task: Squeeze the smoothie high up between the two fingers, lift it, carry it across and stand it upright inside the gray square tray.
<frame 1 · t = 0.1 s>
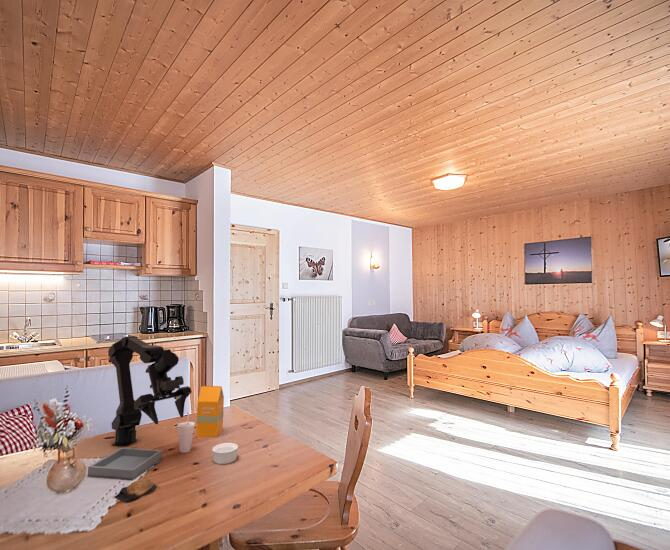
hand: (170, 420, 127), 15 cm above the table, tool tilted 30°, fingers open, 9 cm apart
ramekin: (224, 460, 130), on the table
gray square tray: (126, 467, 123), on the table
smoothie: (185, 451, 138), on the table
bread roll: (137, 494, 108), on the table
orange juice: (209, 434, 155), on the table
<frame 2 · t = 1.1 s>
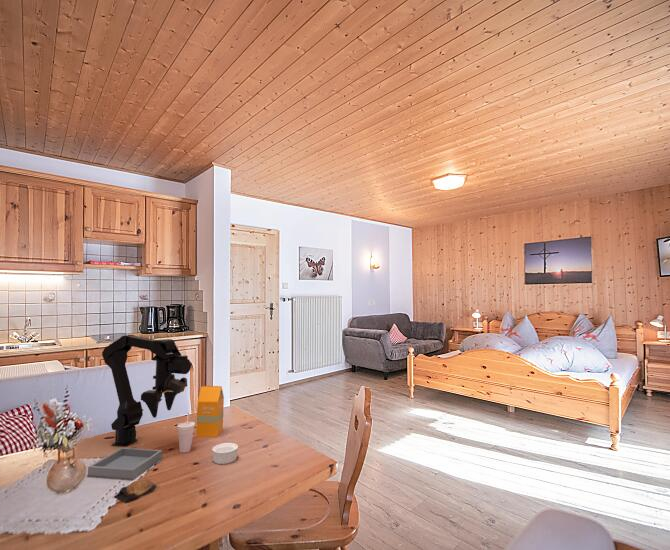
hand: (162, 413, 140), 13 cm above the table, tool pointing down, fingers open, 9 cm apart
nothing on the table moved.
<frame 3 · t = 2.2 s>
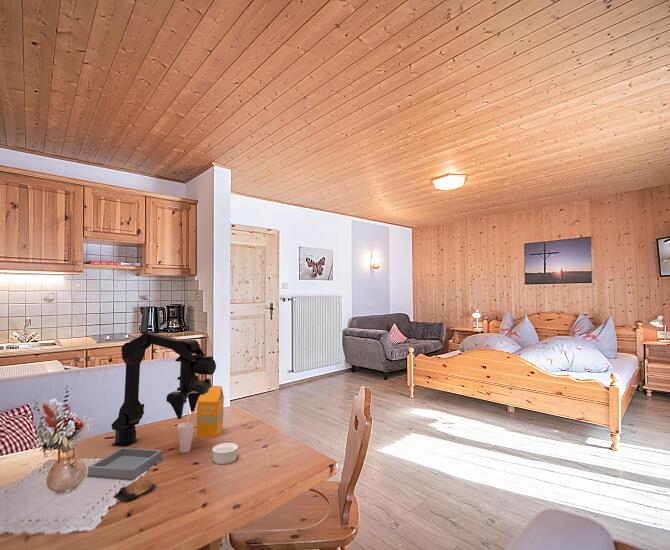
hand: (186, 415, 139), 13 cm above the table, tool pointing down, fingers open, 9 cm apart
nothing on the table moved.
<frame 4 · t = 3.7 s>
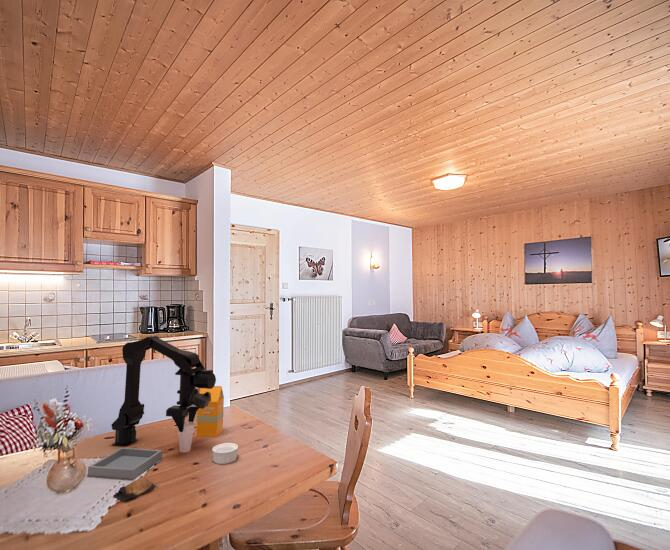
hand: (186, 428, 138), 8 cm above the table, tool pointing down, fingers closed on smoothie, 6 cm apart
smoothie: (185, 451, 138), on the table, touching gripper
everything else where it was.
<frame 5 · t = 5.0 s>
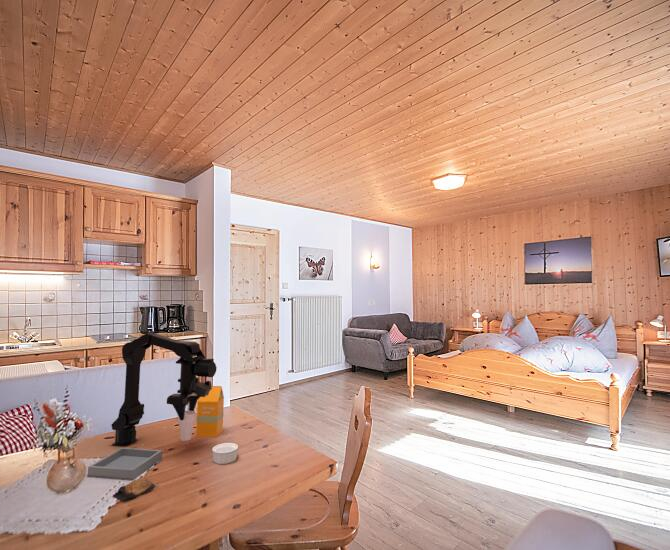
hand: (186, 417, 139), 12 cm above the table, tool pointing down, fingers closed on smoothie, 6 cm apart
smoothie: (185, 439, 138), point 4 cm above the table, touching gripper
everything else where it was.
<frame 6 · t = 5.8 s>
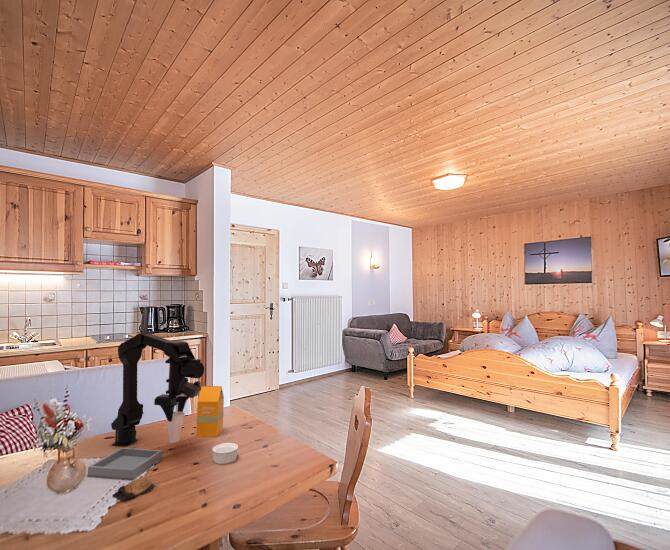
hand: (175, 418, 136), 13 cm above the table, tool pointing down, fingers closed on smoothie, 6 cm apart
smoothie: (173, 441, 135), point 5 cm above the table, touching gripper
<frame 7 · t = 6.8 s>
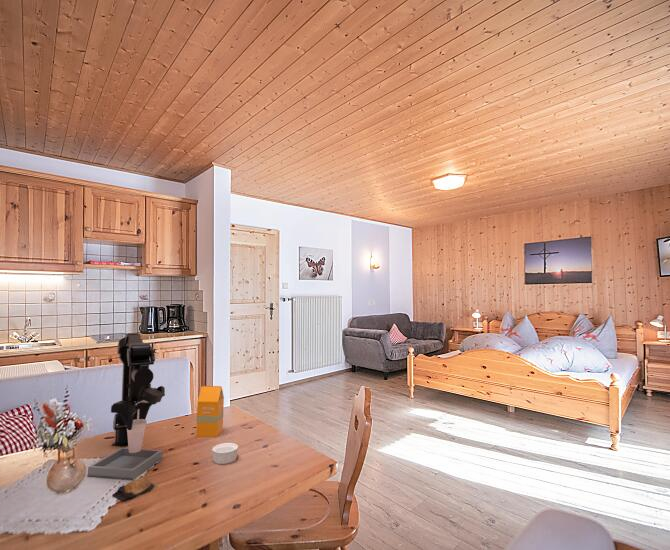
hand: (136, 426, 126), 13 cm above the table, tool pointing down, fingers closed on smoothie, 6 cm apart
smoothie: (134, 451, 125), point 5 cm above the table, touching gripper
when the fingers open (10 cm above the table, at t = 8.7 s): smoothie drops 1 cm, resting on gray square tray.
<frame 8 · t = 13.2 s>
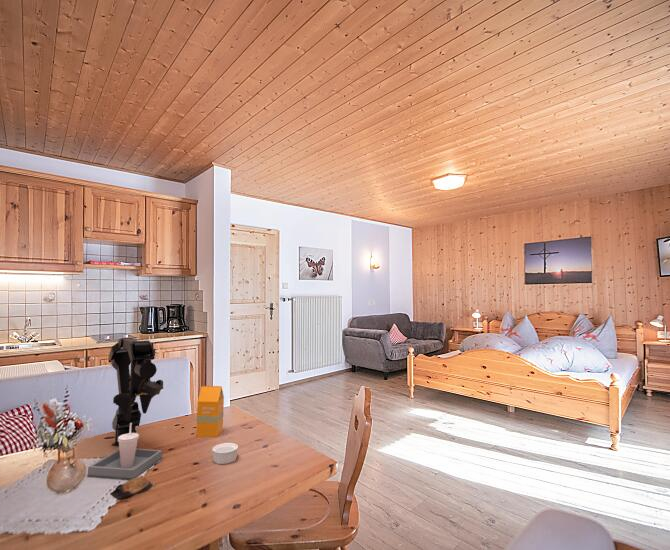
hand: (136, 417, 136), 13 cm above the table, tool pointing down, fingers open, 9 cm apart
smoothie: (127, 465, 123), resting on gray square tray
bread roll: (133, 492, 109), on the table
everything else where it was.
at the end: smoothie inside the target area on the gray square tray (0.1 cm from its centre), point 0.4 cm above the gray square tray's base; smoothie tilted 0°; the gripper is holding nothing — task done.
